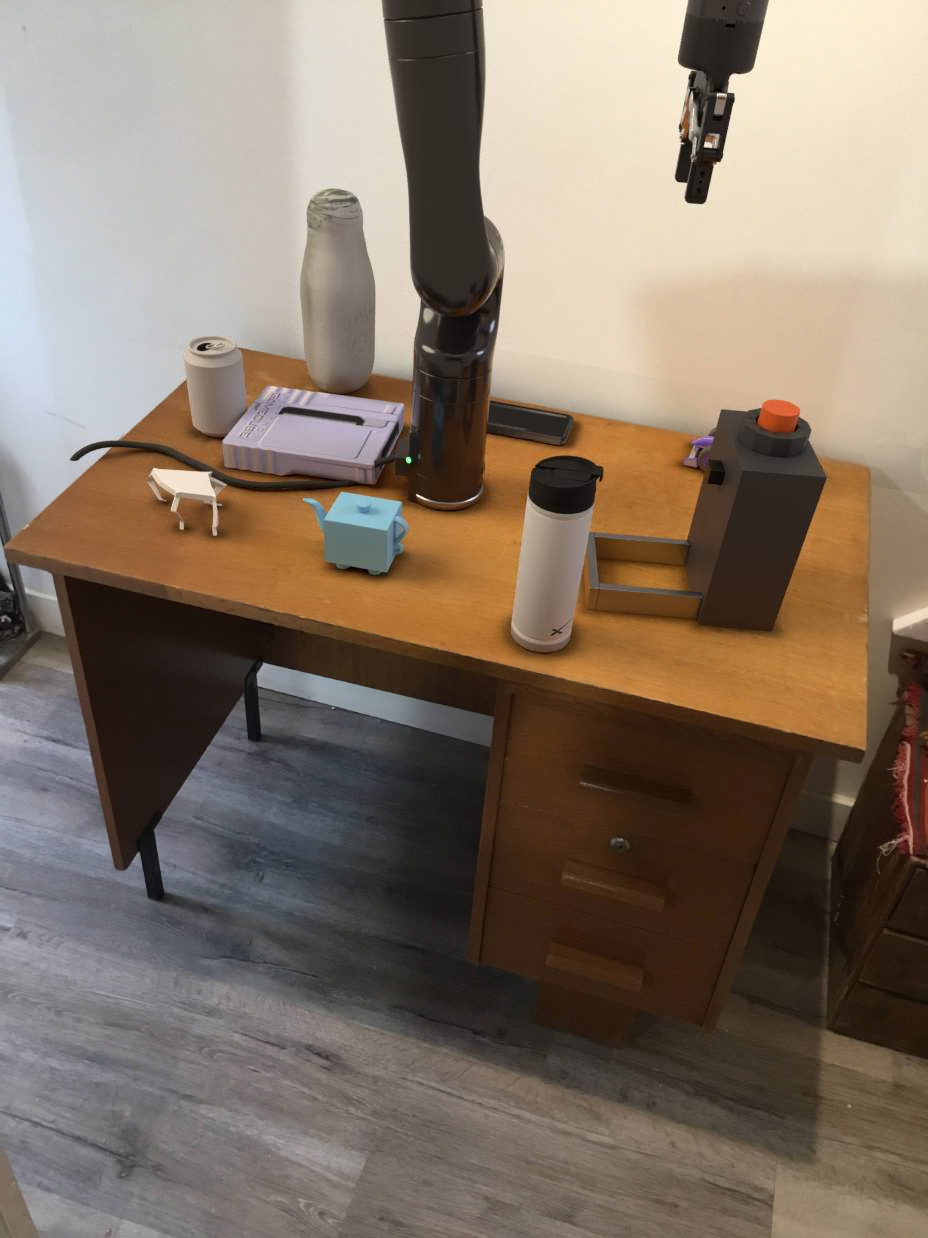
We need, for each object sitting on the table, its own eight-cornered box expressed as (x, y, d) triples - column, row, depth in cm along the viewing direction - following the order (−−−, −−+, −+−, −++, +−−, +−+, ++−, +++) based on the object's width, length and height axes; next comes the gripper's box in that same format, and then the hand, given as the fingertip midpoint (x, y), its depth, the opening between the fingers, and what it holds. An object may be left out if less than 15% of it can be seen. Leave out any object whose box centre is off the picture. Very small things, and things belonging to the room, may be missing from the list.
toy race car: (693, 440, 131) (704, 399, 127) (799, 466, 127) (813, 423, 123) (680, 470, 124) (690, 426, 120) (791, 497, 120) (806, 453, 116)
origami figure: (251, 507, 110) (247, 471, 107) (216, 543, 104) (211, 506, 101) (163, 486, 113) (157, 450, 110) (124, 520, 106) (116, 483, 103)
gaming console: (266, 384, 129) (405, 401, 127) (268, 408, 131) (404, 426, 129) (219, 442, 115) (374, 463, 113) (222, 468, 117) (374, 489, 115)
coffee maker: (697, 625, 98) (748, 450, 85) (682, 556, 108) (725, 390, 95) (772, 631, 98) (834, 458, 85) (749, 562, 108) (802, 397, 95)
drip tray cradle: (586, 609, 99) (610, 483, 89) (581, 552, 107) (603, 430, 97) (696, 619, 99) (732, 493, 89) (683, 561, 107) (715, 440, 97)
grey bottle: (336, 369, 142) (331, 175, 125) (387, 388, 138) (389, 191, 121) (292, 389, 136) (280, 188, 118) (344, 410, 132) (339, 204, 114)
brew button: (761, 433, 88) (766, 413, 87) (754, 416, 91) (759, 397, 90) (798, 436, 88) (804, 417, 87) (789, 419, 91) (795, 400, 90)
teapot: (296, 563, 102) (292, 505, 97) (314, 534, 107) (311, 478, 102) (399, 581, 100) (401, 524, 96) (413, 551, 105) (415, 495, 100)
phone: (475, 397, 135) (574, 415, 132) (475, 404, 136) (573, 422, 133) (461, 420, 129) (565, 439, 126) (460, 427, 130) (564, 446, 127)
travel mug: (569, 659, 92) (601, 488, 80) (505, 647, 93) (526, 476, 80) (576, 621, 97) (606, 454, 84) (515, 610, 98) (536, 443, 85)
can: (204, 411, 129) (194, 328, 121) (256, 418, 128) (248, 335, 121) (184, 436, 123) (172, 350, 115) (238, 442, 122) (229, 357, 115)
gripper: (677, 1, 93) (647, 173, 103) (697, 16, 82) (661, 207, 92) (751, 7, 93) (713, 178, 103) (780, 23, 82) (735, 213, 92)
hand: (689, 191), depth 98 cm, fingers open, 8 cm apart
